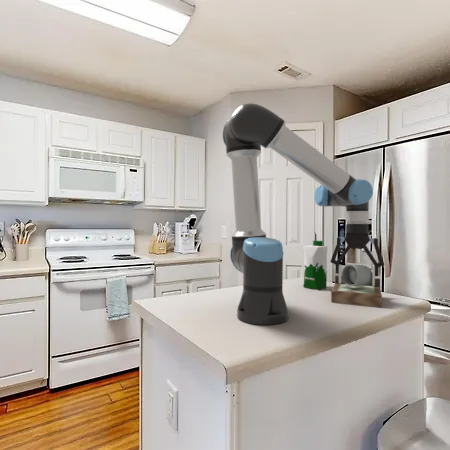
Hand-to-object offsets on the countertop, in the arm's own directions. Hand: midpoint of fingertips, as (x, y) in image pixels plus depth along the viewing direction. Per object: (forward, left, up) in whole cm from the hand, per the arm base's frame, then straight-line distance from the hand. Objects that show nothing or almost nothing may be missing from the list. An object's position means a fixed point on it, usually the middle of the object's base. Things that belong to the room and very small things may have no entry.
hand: (356, 283), depth 117 cm
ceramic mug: (-1, +1, -1) cm, 1 cm away
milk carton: (-17, +16, -6) cm, 24 cm away
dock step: (0, +1, -6) cm, 6 cm away
